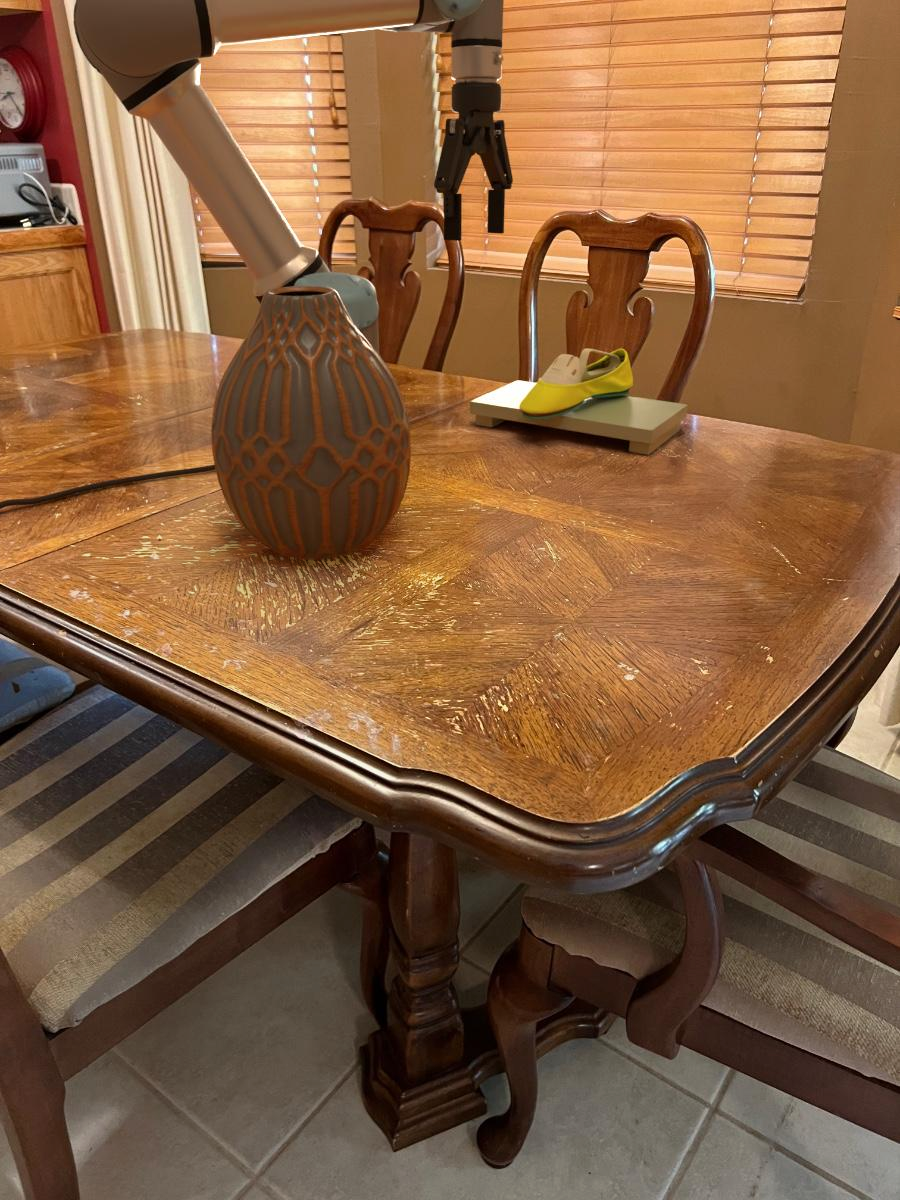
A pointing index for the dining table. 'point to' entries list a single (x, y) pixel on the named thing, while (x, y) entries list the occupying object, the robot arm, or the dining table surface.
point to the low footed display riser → (590, 416)
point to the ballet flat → (577, 383)
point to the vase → (310, 430)
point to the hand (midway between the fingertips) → (474, 236)
